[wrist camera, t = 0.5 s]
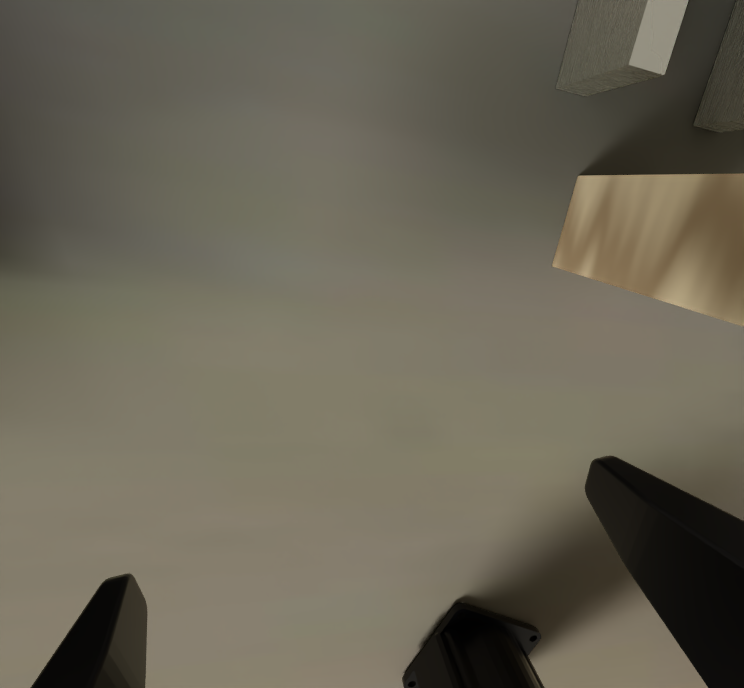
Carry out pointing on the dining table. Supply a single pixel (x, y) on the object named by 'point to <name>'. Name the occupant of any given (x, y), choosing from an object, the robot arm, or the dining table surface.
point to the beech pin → (661, 238)
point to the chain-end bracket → (650, 54)
